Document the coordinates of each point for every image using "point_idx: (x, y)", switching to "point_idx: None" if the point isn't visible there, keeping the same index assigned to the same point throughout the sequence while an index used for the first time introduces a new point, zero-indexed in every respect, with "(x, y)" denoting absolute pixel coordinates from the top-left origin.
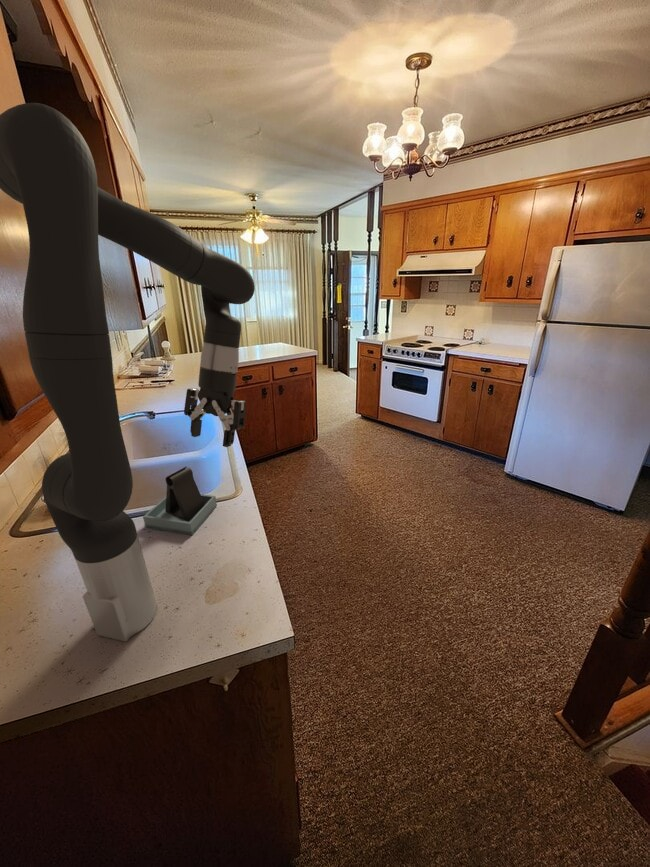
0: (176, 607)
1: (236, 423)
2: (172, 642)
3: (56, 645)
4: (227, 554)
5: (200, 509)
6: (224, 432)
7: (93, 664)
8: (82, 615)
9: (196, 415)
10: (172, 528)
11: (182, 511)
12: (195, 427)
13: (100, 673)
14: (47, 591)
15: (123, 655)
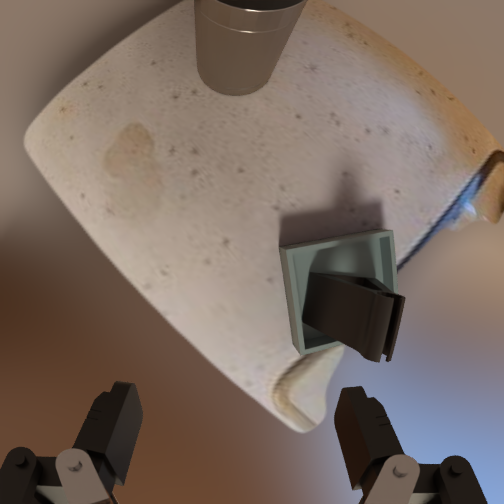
0: (178, 97)
1: (5, 475)
2: (145, 59)
3: None
4: (172, 228)
5: (308, 310)
6: (106, 440)
7: None
8: (302, 49)
9: (373, 495)
10: (325, 239)
11: (331, 277)
12: (356, 431)
13: None
14: (384, 71)
15: None
